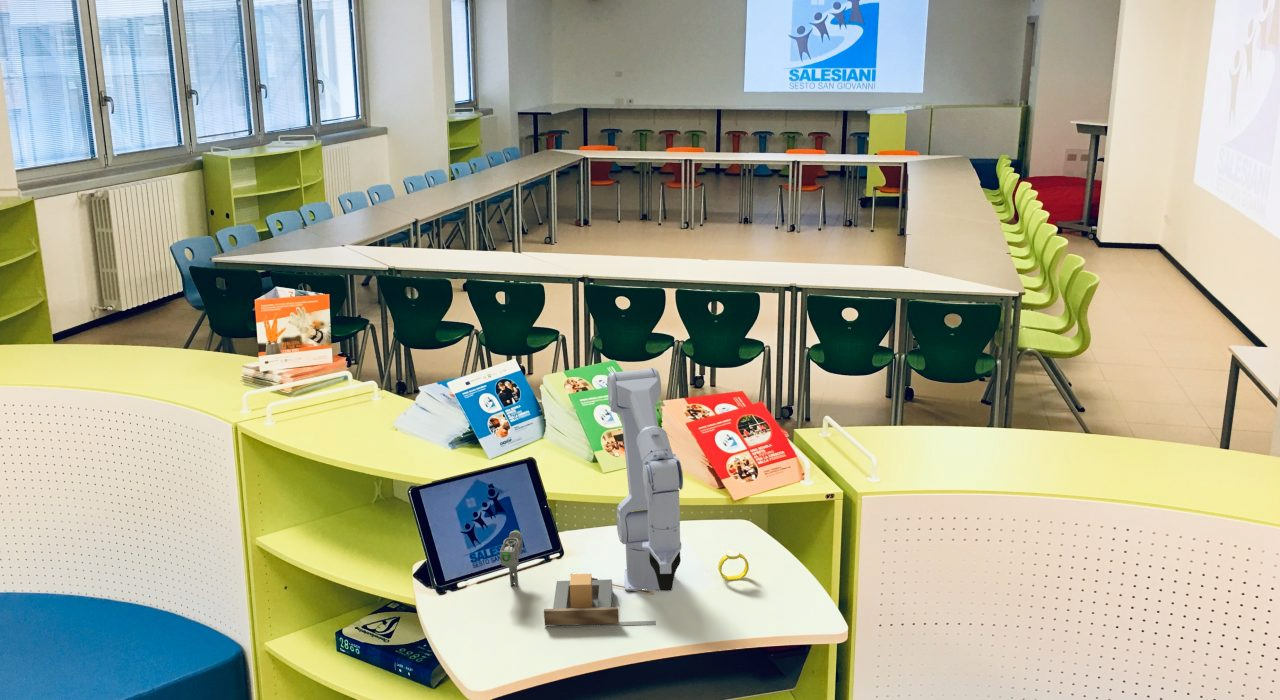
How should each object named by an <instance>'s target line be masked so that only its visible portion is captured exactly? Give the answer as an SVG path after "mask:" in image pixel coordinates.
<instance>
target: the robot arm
mask: <svg viewBox="0 0 1280 700" xmlns="http://www.w3.org/2000/svg"><path fill="white" fill-rule="evenodd" d="M606 385H607V386H606V388H607V396H608V405H609V408H610V412H612V413H614V414H617V415H619V417H620V420H621V427H622V436H623V446H624V447H623V448H624V455H625V466H626V476H627V485H628V488H627V489H628V495H627V496H626V497H625V498H623V500H622V501H620V502H619V504H618V505H617V506H616V530H617V536H618V540H619V542H620V543H621V544H622V545H625V560H626V563H625V565H626V569H625V570H624V571H625V572H624V573H625V574H624V590H625V591H627V592H631V591H632V592H633V591H643V590H642V589H647V590H646V591H661V592H665V591H669V592H671V591H672V590H673V585H674V580H675V575H676V571H677V569H678V567H679V566H680V564H681V550H682V542H681V525H680V524H681V519H680V517H681V516H680V511H681V510H680V490H681V491H682V490H683V488H684V474H683V473H684V472H683V468H682V464H681V461H680V459H679V457H678V456H677V454H676V453H673V451H672V448H671V447H672V446H671V443H670V440H669V436H668V433H667V431H666V430H665V429H664V428H662V427H660V426H659V421H658V417H657V411H656V406H657V403H658V402H660V401H659V399H660V398H661V394H662V381H661V376H660V372H659V370H657V369H656V367H651V368H646V369H645V368H644V369H636V370H635V369H634V370H625V371H615V372H614V371H610V372H609V373H608V375H607V379H606Z"/></svg>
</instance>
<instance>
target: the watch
mask: <svg viewBox="0 0 1280 700" xmlns="http://www.w3.org/2000/svg"><path fill="white" fill-rule="evenodd" d="M739 558H740V559H742V560H743V561H744V563H745V566H744V568H743V570H742V571H741V572H740V573H739V574H737V575H735V574H734V575H725V574H724V573H723V572H722V569H723V565H724V563H725V562H726V561H727V560H738V559H739ZM749 565H750V564H749V562H748V559H747V558H746V557H745V556H744V554H742V553H741V552H740V550H737V549H730V550H727V551H726V553H725V555H723V556H722V557H721V559H720V561H718V568H717V569H718V572H719V573H720V576H721V577H722V579H723V580H725V581H727V582H729V581H738V580H742V579H744V578H745V577H746V575H747V574H748V572H749V570H750V569H749Z"/></svg>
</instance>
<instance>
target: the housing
mask: <svg viewBox="0 0 1280 700" xmlns="http://www.w3.org/2000/svg"><path fill="white" fill-rule="evenodd" d="M592 594H593V606H592V608H599V607H613V579H592ZM553 599H554V600H553V605H552V609H564V608H571V598H570V580H556V583H555V592H554V598H553ZM654 625H655V626H656V625H657V621H656V620H639V621H638V620H635V621H619V623H605V624H570V625H545V624H544V629H546V628H547V629H550V628H551V629H553V628H555V629H556V628H578V627H579V628H580V627H581V628H584V627H587V628H589V627H618V626H619V627H620V626H622V627H623V626H654Z"/></svg>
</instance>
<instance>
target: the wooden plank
mask: <svg viewBox="0 0 1280 700" xmlns="http://www.w3.org/2000/svg"><path fill="white" fill-rule="evenodd" d="M619 617H620V615H619V606H612V607H599V608H564V609H553V608H544V609H543V619H544V626H545V625H570V624H605V623H619V622H620V619H619Z"/></svg>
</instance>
